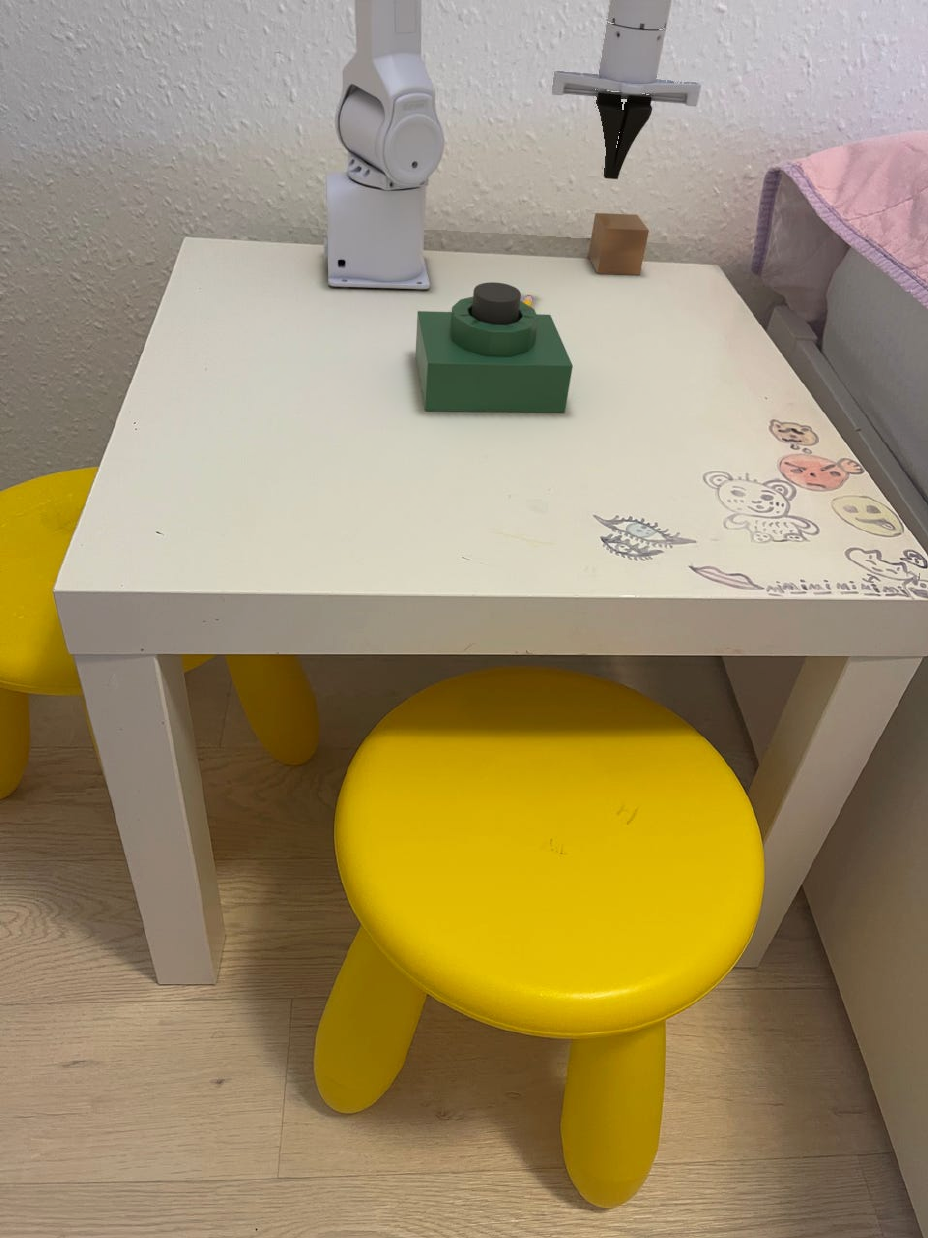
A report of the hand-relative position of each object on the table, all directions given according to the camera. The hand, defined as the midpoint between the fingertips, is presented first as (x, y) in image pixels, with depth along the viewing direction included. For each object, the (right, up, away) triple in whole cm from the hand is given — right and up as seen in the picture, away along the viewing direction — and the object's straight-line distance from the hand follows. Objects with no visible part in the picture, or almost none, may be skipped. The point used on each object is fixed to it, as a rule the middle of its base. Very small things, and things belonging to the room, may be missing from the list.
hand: (609, 175), depth 97 cm
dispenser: (-13, -28, -22) cm, 38 cm away
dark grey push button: (-13, -23, -26) cm, 37 cm away
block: (0, -10, -1) cm, 10 cm away
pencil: (-10, -19, -12) cm, 24 cm away
